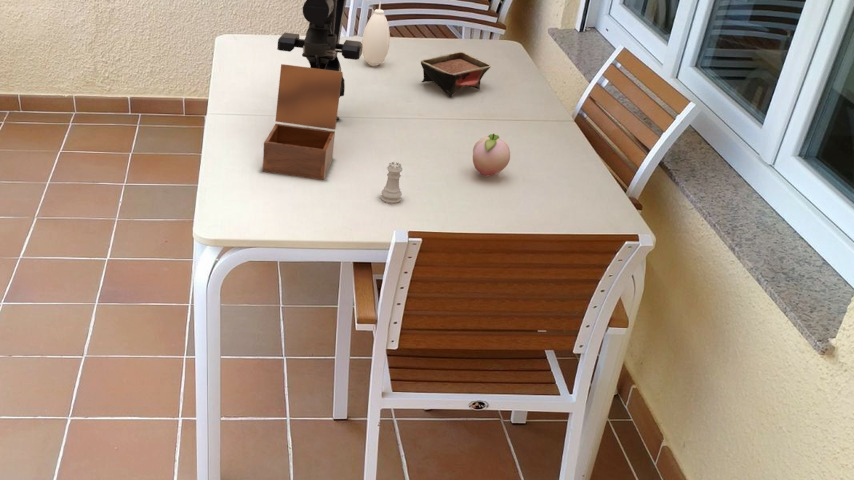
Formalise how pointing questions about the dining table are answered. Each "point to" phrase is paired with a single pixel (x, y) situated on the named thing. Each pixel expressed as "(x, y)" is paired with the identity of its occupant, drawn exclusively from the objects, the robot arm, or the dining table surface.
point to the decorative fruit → (490, 155)
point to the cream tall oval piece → (376, 38)
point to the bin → (298, 151)
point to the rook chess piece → (392, 184)
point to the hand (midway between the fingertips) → (317, 83)
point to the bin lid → (308, 96)
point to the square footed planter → (454, 71)
